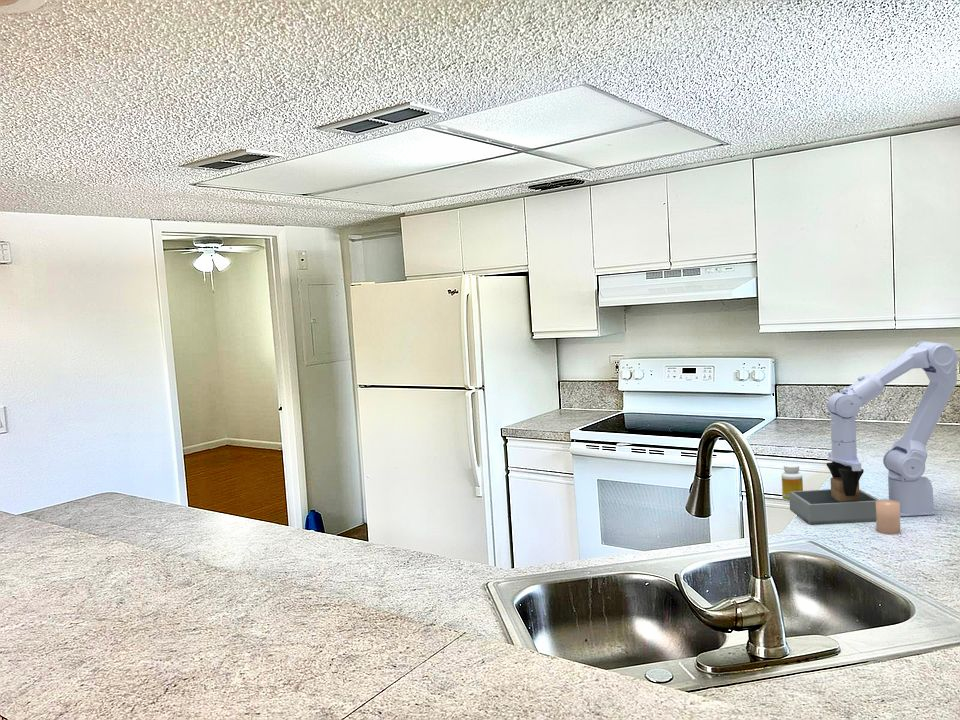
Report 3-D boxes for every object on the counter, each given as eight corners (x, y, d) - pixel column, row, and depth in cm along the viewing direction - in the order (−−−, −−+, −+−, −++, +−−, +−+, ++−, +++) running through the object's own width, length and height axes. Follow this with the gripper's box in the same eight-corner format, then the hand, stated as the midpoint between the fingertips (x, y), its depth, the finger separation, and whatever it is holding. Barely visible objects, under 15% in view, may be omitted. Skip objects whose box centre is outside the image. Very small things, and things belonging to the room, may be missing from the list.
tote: (857, 506, 200) (856, 487, 200) (882, 521, 186) (881, 501, 186) (789, 510, 201) (789, 491, 200) (810, 524, 187) (809, 505, 187)
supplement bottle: (805, 502, 207) (803, 467, 206) (784, 502, 208) (783, 467, 207) (801, 497, 212) (799, 463, 212) (780, 497, 213) (779, 463, 213)
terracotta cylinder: (893, 527, 181) (892, 498, 181) (904, 533, 176) (903, 504, 176) (872, 528, 181) (871, 499, 181) (882, 534, 176) (881, 505, 176)
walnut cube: (850, 495, 195) (850, 476, 195) (859, 500, 190) (859, 481, 190) (831, 496, 196) (830, 477, 195) (839, 501, 191) (838, 482, 190)
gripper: (816, 436, 199) (818, 486, 200) (840, 446, 185) (841, 500, 186) (843, 434, 199) (845, 485, 200) (869, 445, 185) (871, 499, 186)
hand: (845, 492), depth 193 cm, fingers closed on walnut cube, 5 cm apart
